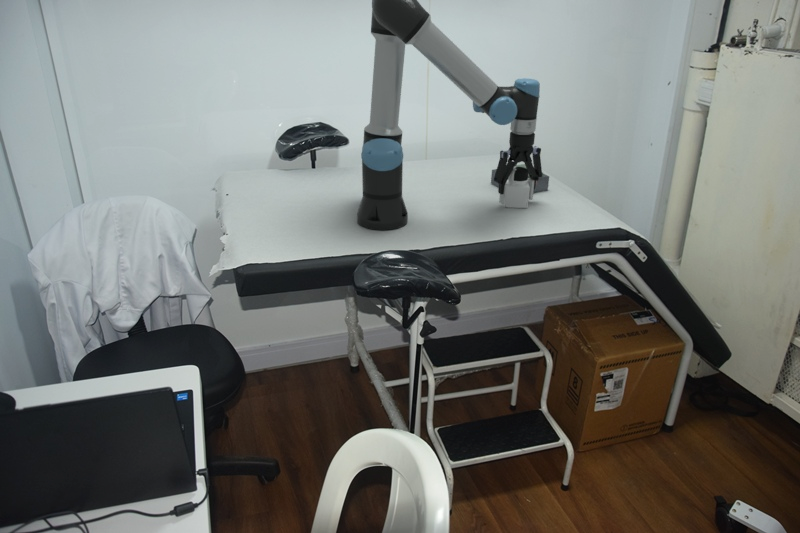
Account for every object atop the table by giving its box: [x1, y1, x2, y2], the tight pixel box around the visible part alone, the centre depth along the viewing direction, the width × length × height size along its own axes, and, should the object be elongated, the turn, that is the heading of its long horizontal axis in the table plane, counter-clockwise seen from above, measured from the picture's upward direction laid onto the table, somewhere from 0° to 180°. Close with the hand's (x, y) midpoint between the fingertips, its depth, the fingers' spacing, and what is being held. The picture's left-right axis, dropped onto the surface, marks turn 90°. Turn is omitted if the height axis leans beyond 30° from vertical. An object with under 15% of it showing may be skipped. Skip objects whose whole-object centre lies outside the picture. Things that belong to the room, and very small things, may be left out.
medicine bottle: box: [504, 167, 530, 209], centre depth 195 cm, size 7×7×12 cm
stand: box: [490, 163, 550, 194], centre depth 212 cm, size 14×15×6 cm
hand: (515, 200), depth 197 cm, fingers closed on medicine bottle, 9 cm apart
